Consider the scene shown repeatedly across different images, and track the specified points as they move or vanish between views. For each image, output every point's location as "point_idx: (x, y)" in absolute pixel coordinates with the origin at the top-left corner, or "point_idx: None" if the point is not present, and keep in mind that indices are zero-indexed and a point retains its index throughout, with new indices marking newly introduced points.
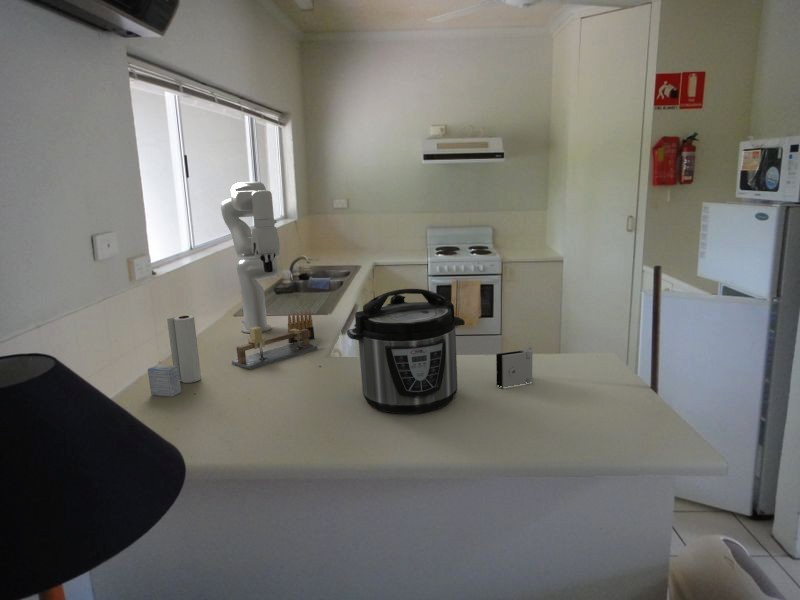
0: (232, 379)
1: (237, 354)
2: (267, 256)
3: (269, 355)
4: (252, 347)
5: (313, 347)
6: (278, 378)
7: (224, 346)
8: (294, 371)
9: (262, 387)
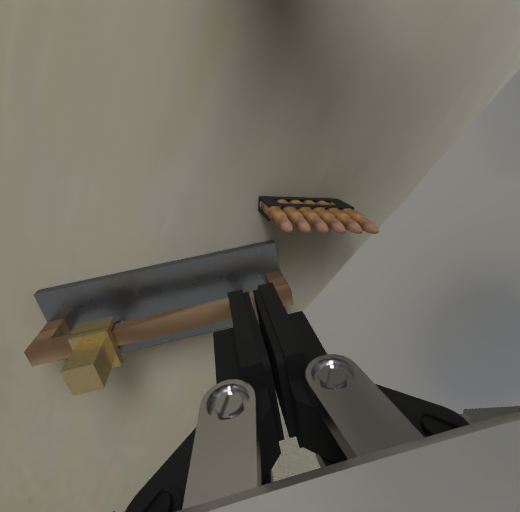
0: (16, 398)
1: (36, 338)
2: (339, 441)
3: (147, 314)
4: None
5: None
6: (115, 437)
7: (51, 56)
8: (161, 418)
9: (69, 464)
